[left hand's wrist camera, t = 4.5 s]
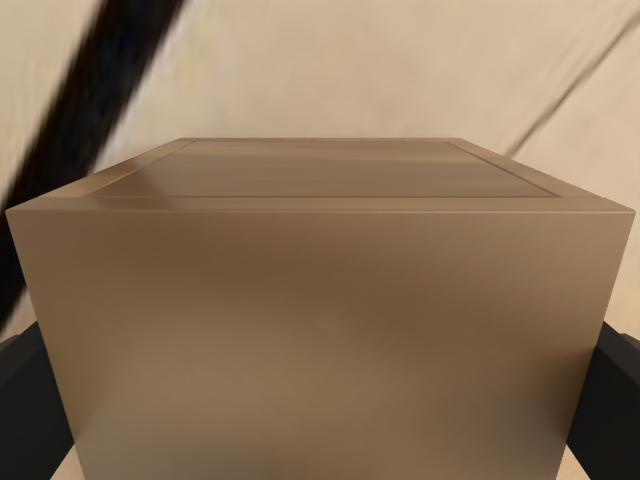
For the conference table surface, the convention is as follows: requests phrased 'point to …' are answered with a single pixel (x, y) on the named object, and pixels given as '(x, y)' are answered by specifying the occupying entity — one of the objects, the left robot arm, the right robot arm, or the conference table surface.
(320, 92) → the conference table surface
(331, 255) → the cabinet
